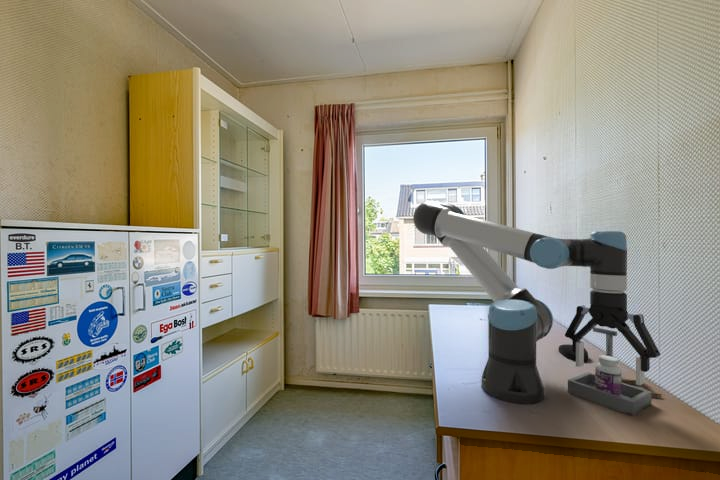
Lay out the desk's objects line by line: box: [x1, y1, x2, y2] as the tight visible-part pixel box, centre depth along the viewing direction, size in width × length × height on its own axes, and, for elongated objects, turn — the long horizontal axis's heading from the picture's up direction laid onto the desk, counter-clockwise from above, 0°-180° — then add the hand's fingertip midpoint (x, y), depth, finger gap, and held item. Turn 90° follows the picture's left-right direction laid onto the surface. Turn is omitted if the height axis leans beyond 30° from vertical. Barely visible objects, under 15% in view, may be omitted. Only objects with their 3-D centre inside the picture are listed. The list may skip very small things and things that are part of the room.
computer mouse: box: [558, 343, 589, 363], centre depth 114 cm, size 8×12×4 cm, turn 166°
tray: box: [567, 371, 652, 417], centre depth 82 cm, size 11×14×3 cm
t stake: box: [592, 326, 618, 357], centre depth 99 cm, size 4×6×13 cm
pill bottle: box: [594, 354, 622, 397], centre depth 82 cm, size 5×5×10 cm
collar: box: [621, 378, 663, 399], centre depth 88 cm, size 9×9×1 cm
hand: (607, 374), depth 83 cm, fingers open, 12 cm apart
